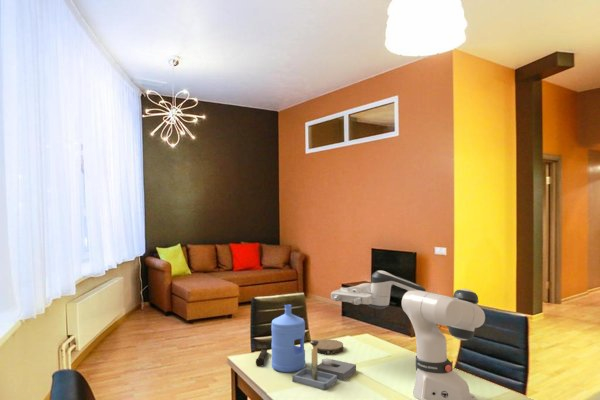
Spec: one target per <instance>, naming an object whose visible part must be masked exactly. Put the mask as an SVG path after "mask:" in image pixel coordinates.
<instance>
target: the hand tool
mask: <svg viewBox="0 0 600 400" xmlns="http://www.w3.org/2000/svg"><path fill="white" fill-rule="evenodd" d="M266 355H268V346H267V344H263V345H262V347H261V350H260V353H259V354H258V357H257V358H256V359H255V365H256V366H257V367H263V366H264V365H265V362H266V357H267V356H266ZM262 365H263V366H262Z"/></svg>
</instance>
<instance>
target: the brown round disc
mask: <svg viewBox="0 0 600 400" xmlns="http://www.w3.org/2000/svg"><path fill="white" fill-rule="evenodd" d="M317 341H318V344H317V354H319V355H326V356H328V355H329V356H330V355H338V354H341V353H342V352H343V351H344V343H343V342H342V341H341V340H340V341H339V340H337V339H331V338H330V339H328V338H327V339H326V338H325V339H318V340H317Z"/></svg>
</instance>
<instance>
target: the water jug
mask: <svg viewBox="0 0 600 400" xmlns="http://www.w3.org/2000/svg"><path fill="white" fill-rule="evenodd" d="M270 329H271V368H273V369H274V370H275V371H277V372H282V373H296V372H299V371H300V370H302V369H304V368H306V350H305V336H306V322H305V319H303V318H302V317H300V316H298V315H295V314H293V313H292V304H284V313H283V314H281V315H280V316H278V317H275V318H274V319H272V321H271V327H270ZM297 340H299V346H298V345H295V341H297Z"/></svg>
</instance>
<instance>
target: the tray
mask: <svg viewBox="0 0 600 400" xmlns="http://www.w3.org/2000/svg"><path fill="white" fill-rule="evenodd" d="M291 378H292V379H291V380H292V382H294V383H297V384H300V385H304V386H308V387H310V388H311V387H312V388H316V389H319V390H323V391H327V390H328V389H329V388H331V387H332V386H333V385H335V384H336V383H337V382H338V379H337V375H334V374H329V373H325V372H321V371H318V380H317V381H316V380H312V368H307V367H304V368H303V369H301V370H299V371H296V372H294V373H293V375H291Z"/></svg>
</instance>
